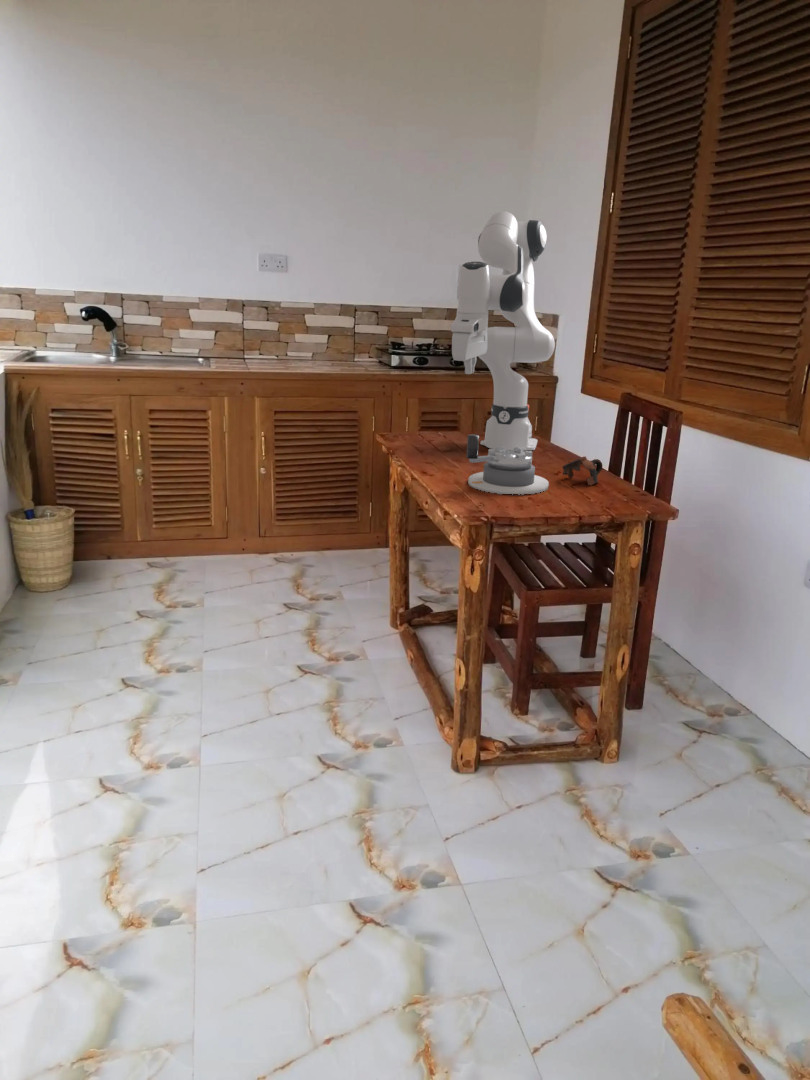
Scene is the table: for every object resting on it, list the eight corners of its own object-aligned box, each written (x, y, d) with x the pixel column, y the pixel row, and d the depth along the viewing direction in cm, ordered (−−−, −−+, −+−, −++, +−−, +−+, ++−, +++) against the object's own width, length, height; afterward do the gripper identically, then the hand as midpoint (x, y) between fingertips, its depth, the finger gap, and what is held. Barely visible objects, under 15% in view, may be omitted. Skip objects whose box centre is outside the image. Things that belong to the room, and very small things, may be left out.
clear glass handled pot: (455, 464, 220) (457, 431, 217) (515, 458, 228) (518, 427, 225) (478, 474, 210) (480, 440, 207) (540, 468, 218) (542, 435, 215)
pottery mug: (583, 489, 221) (571, 462, 221) (564, 496, 230) (552, 470, 230) (615, 474, 226) (603, 447, 226) (595, 481, 235) (583, 455, 235)
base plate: (483, 471, 236) (484, 454, 234) (556, 480, 228) (558, 462, 226) (456, 488, 217) (457, 469, 215) (536, 499, 208) (537, 479, 207)
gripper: (473, 320, 234) (471, 368, 239) (448, 325, 217) (446, 377, 221) (494, 321, 232) (491, 369, 237) (470, 326, 214) (468, 379, 219)
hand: (469, 373), depth 229 cm, fingers closed
